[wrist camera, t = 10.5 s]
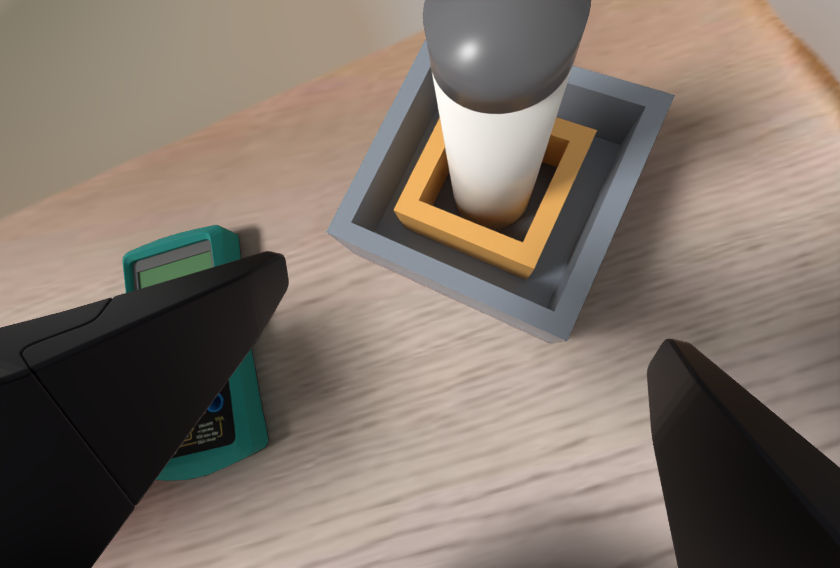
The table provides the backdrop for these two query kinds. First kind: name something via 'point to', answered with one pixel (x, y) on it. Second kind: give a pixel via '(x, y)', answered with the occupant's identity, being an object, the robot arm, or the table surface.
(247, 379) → the digital multimeter
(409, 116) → the box
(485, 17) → the grey capped shaker bottle
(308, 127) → the table surface
